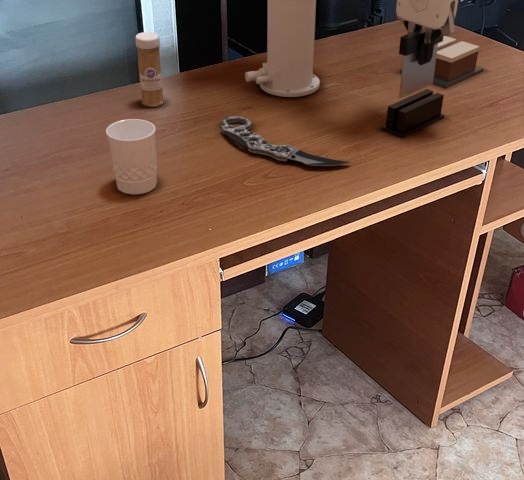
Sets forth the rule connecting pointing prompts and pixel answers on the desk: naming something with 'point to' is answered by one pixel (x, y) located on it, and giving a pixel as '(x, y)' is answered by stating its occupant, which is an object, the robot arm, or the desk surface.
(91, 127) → the desk surface
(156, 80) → the sprinkles bottle
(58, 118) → the desk surface
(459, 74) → the cake
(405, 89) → the plate
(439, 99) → the stand
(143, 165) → the white cup
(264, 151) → the knife
